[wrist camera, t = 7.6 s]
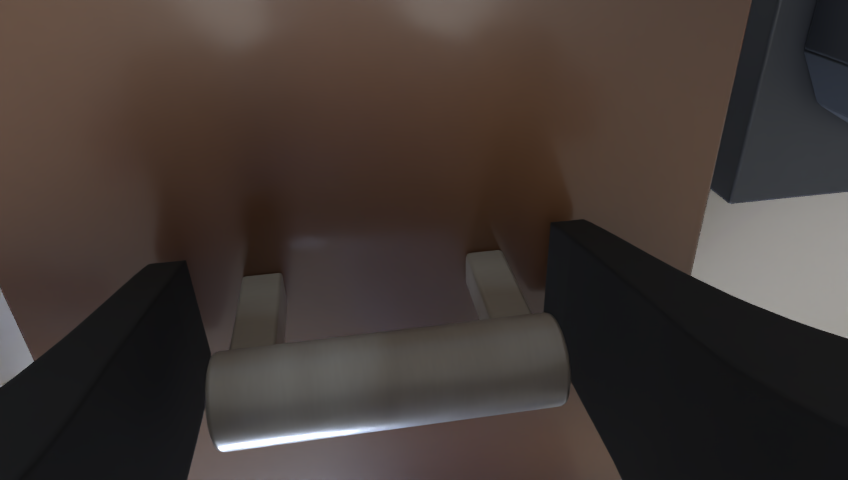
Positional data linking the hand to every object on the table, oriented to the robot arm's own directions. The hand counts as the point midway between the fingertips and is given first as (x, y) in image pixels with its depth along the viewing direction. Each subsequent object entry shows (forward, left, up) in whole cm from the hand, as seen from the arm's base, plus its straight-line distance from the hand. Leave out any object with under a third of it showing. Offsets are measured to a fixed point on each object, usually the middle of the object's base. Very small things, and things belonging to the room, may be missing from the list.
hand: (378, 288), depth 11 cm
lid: (-1, 0, -1) cm, 1 cm away
